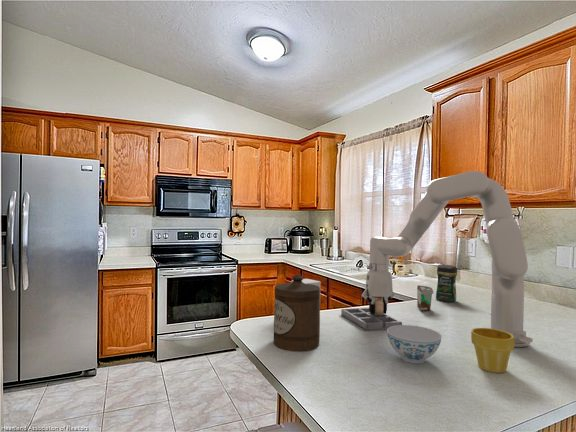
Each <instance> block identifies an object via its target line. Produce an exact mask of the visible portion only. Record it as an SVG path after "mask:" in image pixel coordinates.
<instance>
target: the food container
mask: <svg viewBox="0 0 576 432" xmlns="http://www.w3.org/2000/svg"><path fill="white" fill-rule="evenodd" d="M416 289H417V294H416V295H417V297H416V298H417V299H416V300H417V301H416V302H417V303H416V306H417V309H418V310H419V311H420V312H430V311H431V308H432V299H433V298H432V297H433V294H434V290H433V288H432V287H431V286H427V285H418V284H417V287H416Z"/></svg>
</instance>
